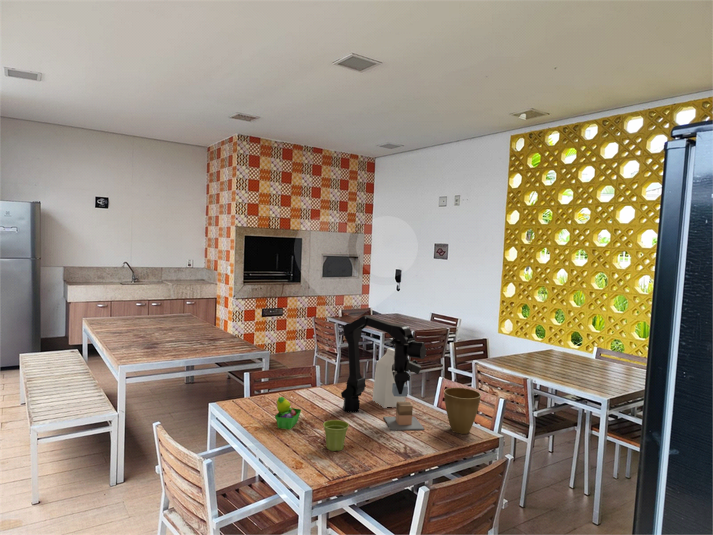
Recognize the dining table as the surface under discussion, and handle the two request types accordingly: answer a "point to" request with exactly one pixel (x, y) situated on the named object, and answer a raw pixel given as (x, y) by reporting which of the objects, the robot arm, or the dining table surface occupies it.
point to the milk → (385, 382)
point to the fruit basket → (286, 414)
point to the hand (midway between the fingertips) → (399, 392)
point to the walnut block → (404, 408)
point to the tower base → (403, 427)
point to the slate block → (395, 391)
